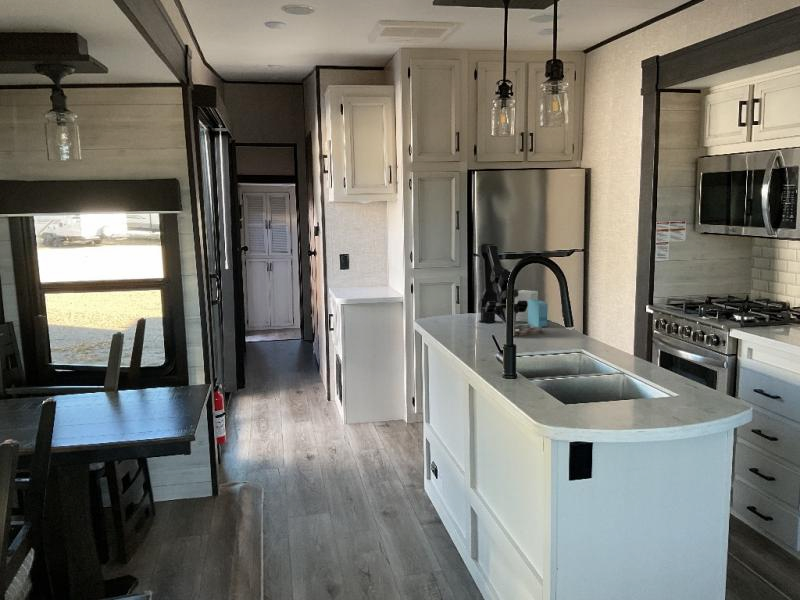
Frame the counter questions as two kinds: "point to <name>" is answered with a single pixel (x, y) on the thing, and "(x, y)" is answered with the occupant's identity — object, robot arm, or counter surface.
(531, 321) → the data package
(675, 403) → the counter surface
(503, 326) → the module
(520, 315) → the supplement box
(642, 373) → the counter surface
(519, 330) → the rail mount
